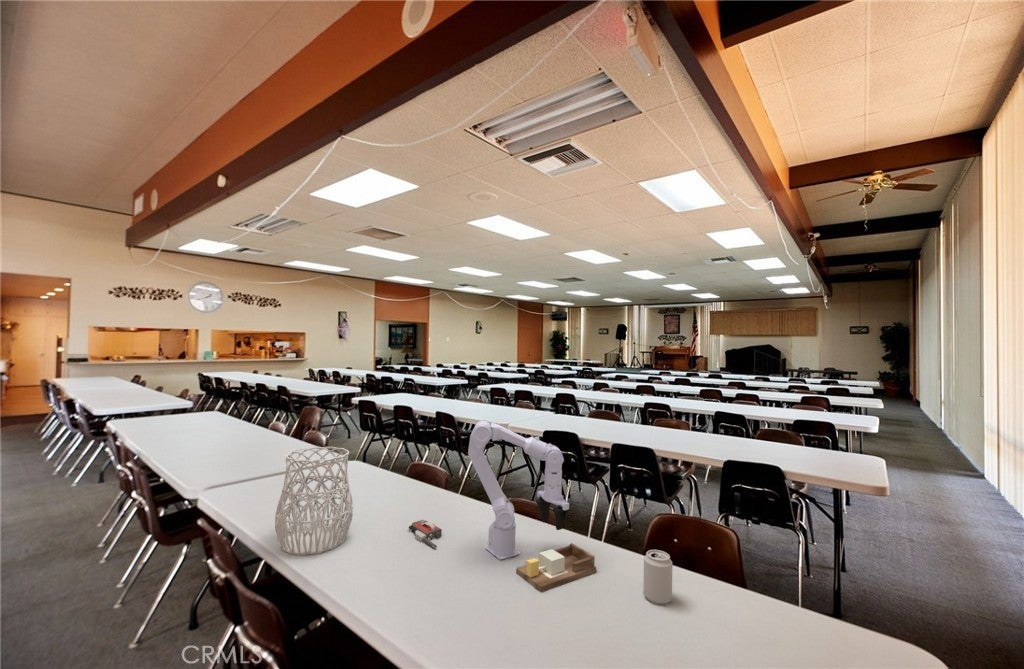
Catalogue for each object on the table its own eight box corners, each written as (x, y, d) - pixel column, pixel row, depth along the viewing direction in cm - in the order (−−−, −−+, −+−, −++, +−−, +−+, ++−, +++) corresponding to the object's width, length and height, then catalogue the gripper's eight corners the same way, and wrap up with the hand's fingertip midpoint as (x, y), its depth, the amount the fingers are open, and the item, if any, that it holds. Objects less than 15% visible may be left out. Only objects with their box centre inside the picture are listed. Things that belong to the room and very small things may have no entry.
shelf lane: (516, 573, 131) (516, 558, 131) (570, 556, 143) (570, 542, 143) (540, 592, 121) (541, 575, 121) (596, 572, 133) (596, 557, 133)
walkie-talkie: (403, 532, 159) (433, 552, 144) (403, 520, 159) (433, 538, 144) (424, 526, 164) (454, 544, 150) (424, 514, 165) (455, 531, 150)
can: (649, 587, 125) (650, 545, 125) (675, 597, 120) (676, 553, 121) (638, 598, 119) (639, 554, 120) (666, 609, 114) (666, 563, 115)
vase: (323, 522, 165) (326, 442, 166) (366, 537, 152) (370, 451, 153) (258, 545, 144) (263, 454, 145) (302, 565, 131) (307, 465, 133)
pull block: (522, 571, 128) (522, 557, 129) (551, 562, 135) (552, 549, 135) (534, 580, 123) (534, 566, 124) (564, 570, 130) (564, 556, 130)
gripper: (576, 488, 141) (575, 530, 140) (549, 476, 153) (548, 515, 153) (559, 491, 137) (558, 535, 137) (532, 479, 149) (531, 519, 149)
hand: (552, 525), depth 144 cm, fingers open, 7 cm apart
